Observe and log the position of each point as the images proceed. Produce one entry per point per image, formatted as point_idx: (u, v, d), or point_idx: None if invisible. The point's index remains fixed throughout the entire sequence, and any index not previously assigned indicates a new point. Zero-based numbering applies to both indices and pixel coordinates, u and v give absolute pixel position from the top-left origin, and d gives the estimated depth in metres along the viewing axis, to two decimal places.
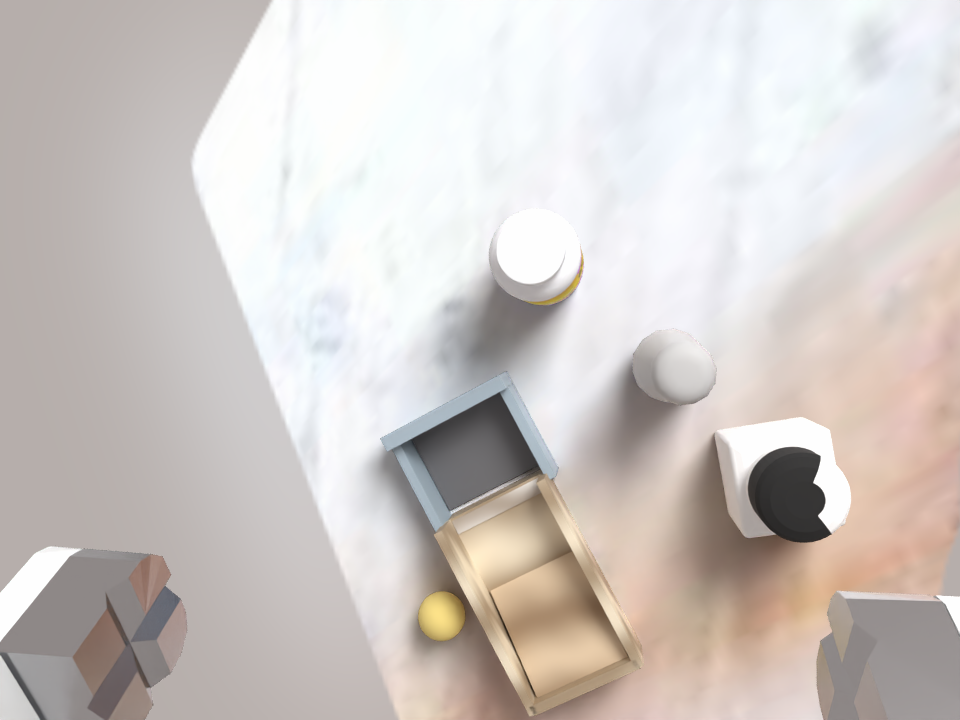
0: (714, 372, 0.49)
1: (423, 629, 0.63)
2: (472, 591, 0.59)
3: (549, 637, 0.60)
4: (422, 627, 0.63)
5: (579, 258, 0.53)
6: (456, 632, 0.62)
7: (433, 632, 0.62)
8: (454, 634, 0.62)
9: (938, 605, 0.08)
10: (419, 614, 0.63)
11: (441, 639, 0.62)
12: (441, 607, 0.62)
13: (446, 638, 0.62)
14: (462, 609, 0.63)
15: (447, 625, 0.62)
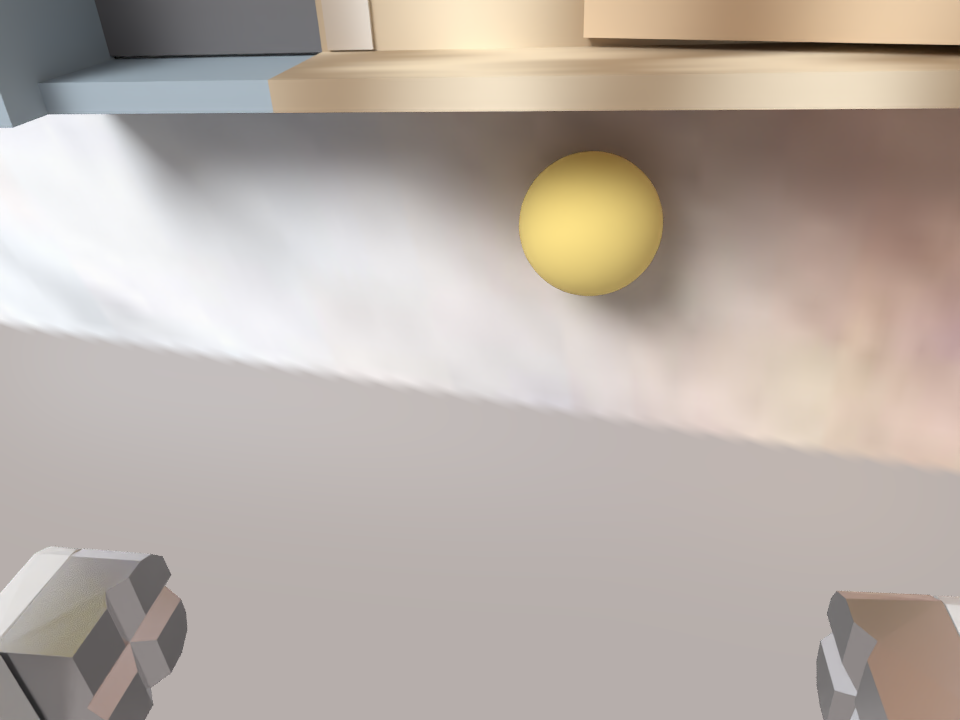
0: None
1: (587, 292, 0.21)
2: (510, 79, 0.16)
3: None
4: (580, 292, 0.21)
5: None
6: (648, 209, 0.20)
7: (605, 273, 0.20)
8: (650, 217, 0.20)
9: (937, 605, 0.08)
10: (546, 280, 0.21)
11: (641, 260, 0.20)
12: (550, 212, 0.20)
13: (646, 245, 0.20)
14: (600, 157, 0.20)
15: (607, 224, 0.19)
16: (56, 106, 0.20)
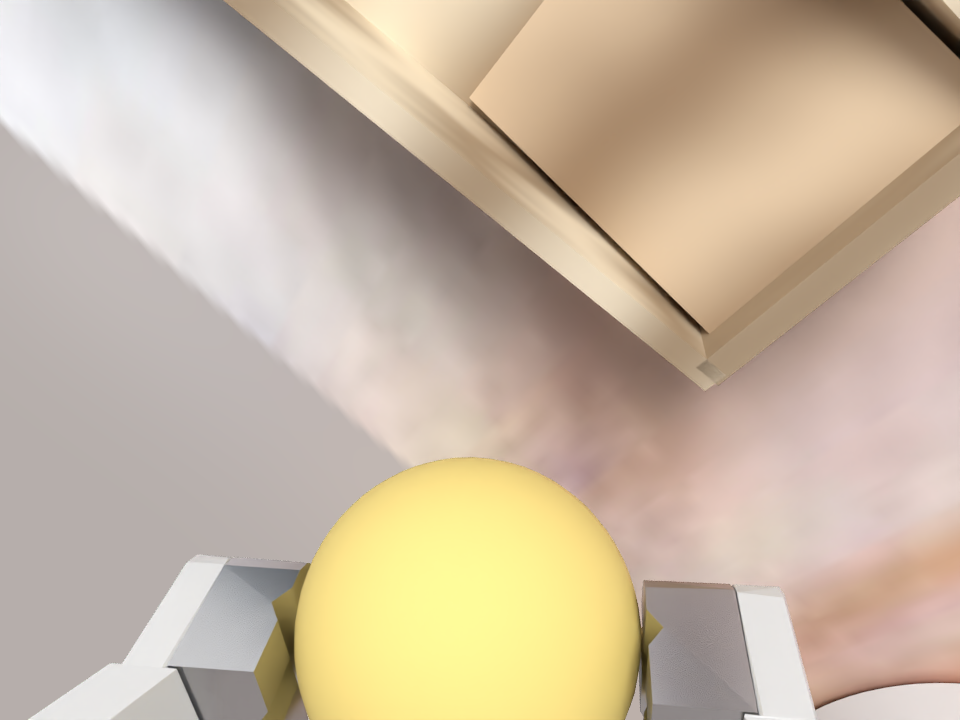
0: None
1: None
2: (391, 102, 0.17)
3: (694, 152, 0.18)
4: None
5: None
6: (599, 663, 0.07)
7: None
8: (607, 681, 0.07)
9: (730, 593, 0.08)
10: None
11: None
12: (338, 684, 0.07)
13: None
14: (472, 517, 0.08)
15: None
16: None
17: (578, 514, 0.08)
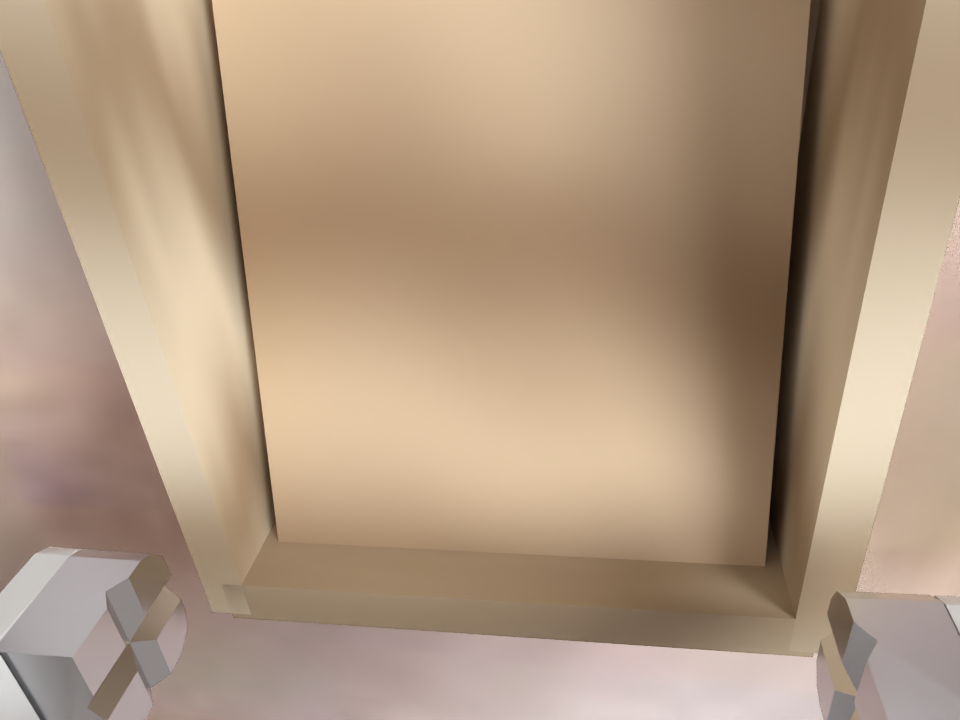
0: None
1: None
2: None
3: (434, 335, 0.11)
4: None
5: None
6: None
7: None
8: None
9: (938, 605, 0.08)
10: None
11: None
12: None
13: None
14: None
15: None
16: None
17: None
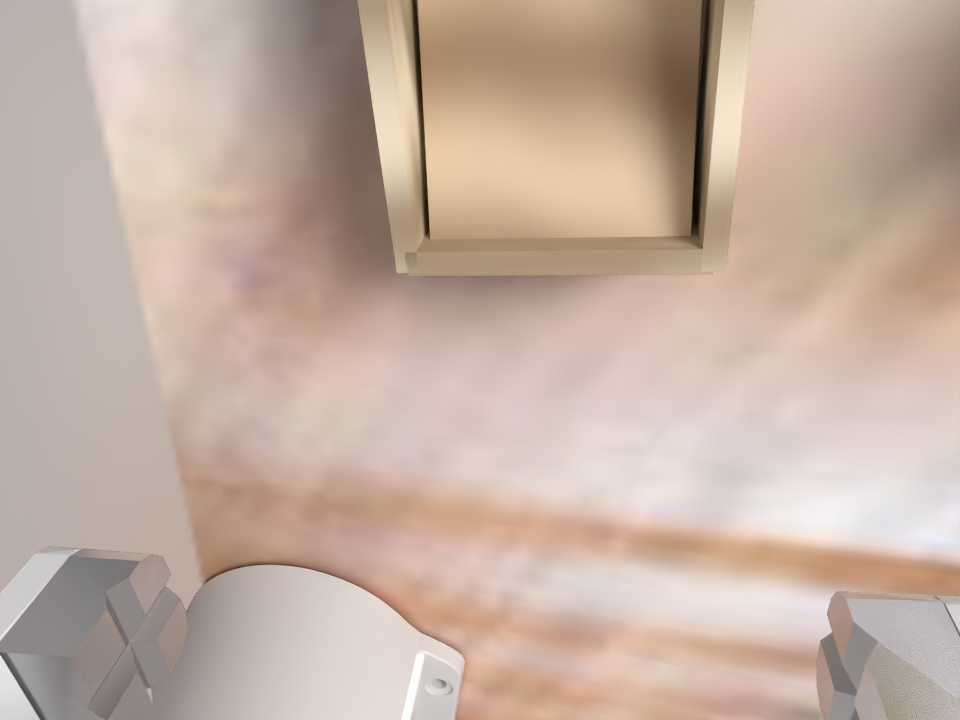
0: None
1: None
2: None
3: (520, 113, 0.22)
4: None
5: None
6: None
7: None
8: None
9: (937, 605, 0.08)
10: None
11: None
12: None
13: None
14: None
15: None
16: None
17: None
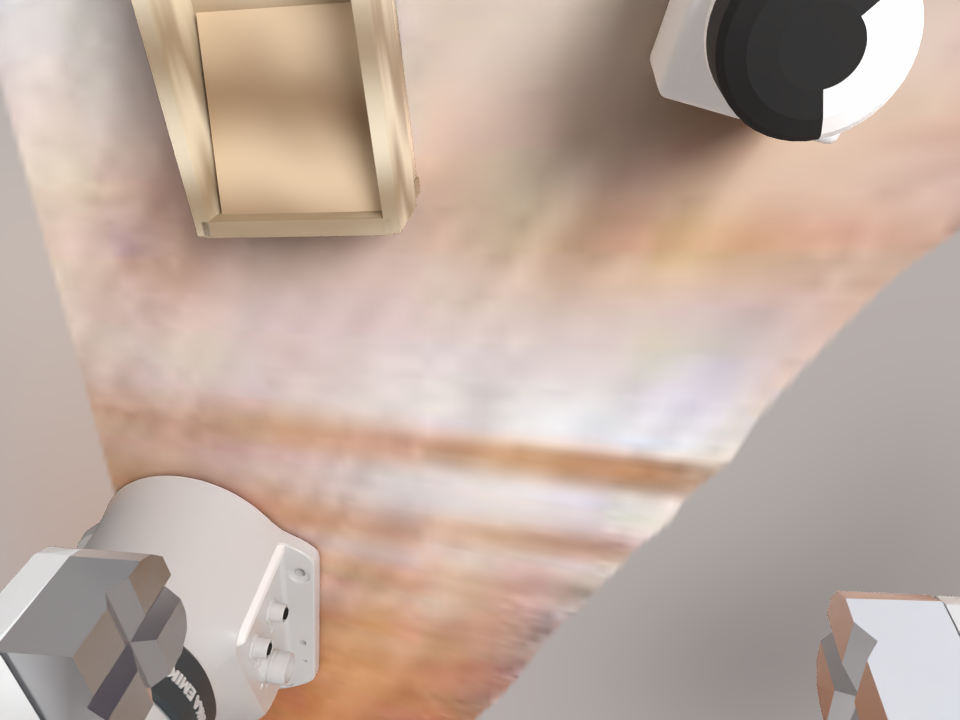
0: None
1: None
2: None
3: (271, 132, 0.35)
4: None
5: None
6: None
7: None
8: None
9: (937, 605, 0.08)
10: None
11: None
12: None
13: None
14: None
15: None
16: None
17: None
